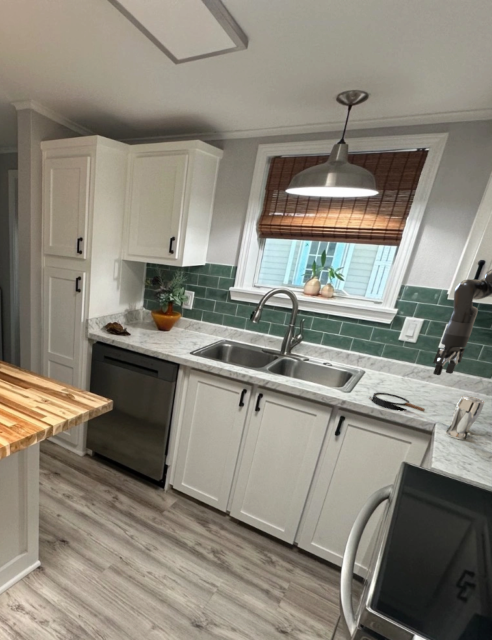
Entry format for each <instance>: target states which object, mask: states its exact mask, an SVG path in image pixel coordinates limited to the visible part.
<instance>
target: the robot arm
mask: <svg viewBox="0 0 492 640" xmlns="http://www.w3.org/2000/svg"><path fill="white" fill-rule="evenodd" d="M491 295H492V268H491V269H490V270H488V271H487V272H486V273H485V274H484V277H483V278H481V279H470V278H469V279H464V280H462V281H460V282H459V283H458V284H457V285H456V287H455V289H454V293H453V309H452V310H453V311H452V313H451V316H450V319H449V321H448V324H447V325H446V327H445V331H444V334H443V336H442V339H441V341H440V343H441V344H442V345H443V346H444V347H443V348H438V349H437V352H436V354H435V356H434V359H433V362H432V363H433V364H434V365H435V367H434V370H433V375H436V376H441V374H442V372H443V369H444V366H445V365H446V364H447V366H446V369H445V373H446V374H450V375H451V374H454V371H455V369H456V366H457V365H458V364H460V363H461V362H462V360H463V356H464V354H465V350H466V347H467V345H468V343H469V339H470V337H471V334H472V331H473V329H474V328H473V327H474V324H475V321H476V318H477V315H478V311H479V309H478V308H477V307H476V306H473V302H474V301H473V300H476V301H477V300H482V299H483V300H484V299H485V298H488V297H490V296H491Z"/></svg>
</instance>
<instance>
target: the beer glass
mask: <svg viewBox="0 0 492 640" xmlns="http://www.w3.org/2000/svg"><path fill="white" fill-rule="evenodd" d="M485 403H486V402H485V400H483V399H480V398H477V397H474V396H470V395H461V396H460V398H459V400H458V401H457V403H456V406H455V408H454V411H453V415H452V420H451V423H450V426H449V427H448V428H447V430H446V431H445V435H447V436H448V437H450V438H452V439H456V440H460V441H465V440H467V438H468V435H469V431H470V429H471V428H472V427H473V425H474V424H475V423H476V421H477V420H478V418H479V416H480V415H481V414H482V410H483V408H484V405H485Z"/></svg>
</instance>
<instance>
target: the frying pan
mask: <svg viewBox="0 0 492 640" xmlns="http://www.w3.org/2000/svg"><path fill="white" fill-rule="evenodd" d="M377 395H384V396H390V397H393V398H398V399H400V400H402V401H405V402H404V403H400V402H393V401H389V400H385V399H382V398H380V397H378V396H377ZM371 402H372V403H373V404H375V405H376V406H379V407H381V408H384V409H388V410H392V411H398V410H400V411H399V412H403V410H404V411H407V410H408V409H407V408H404V407H402V406H406V407H409V408H412V409H415V410H417V411H420V412H425V410H426V408H424V407H421V406H418V405H416V404H413V403H410V401H409V400H408V399H407V398H405V397H402V396H399V395H397V394H392V393H388V392H374V393H373V394H372V397H371Z"/></svg>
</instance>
